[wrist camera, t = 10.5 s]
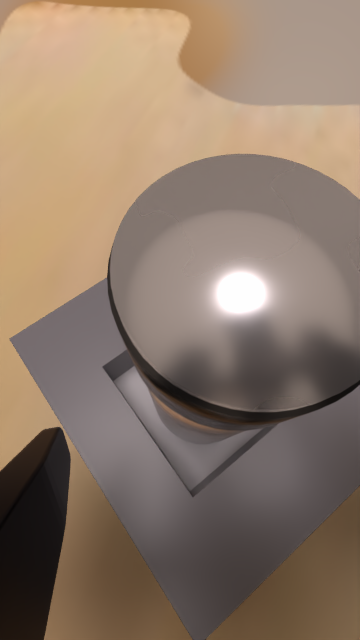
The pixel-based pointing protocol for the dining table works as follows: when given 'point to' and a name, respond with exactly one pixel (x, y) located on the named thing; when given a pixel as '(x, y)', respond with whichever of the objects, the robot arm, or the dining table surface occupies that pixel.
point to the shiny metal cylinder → (239, 293)
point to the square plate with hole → (189, 466)
